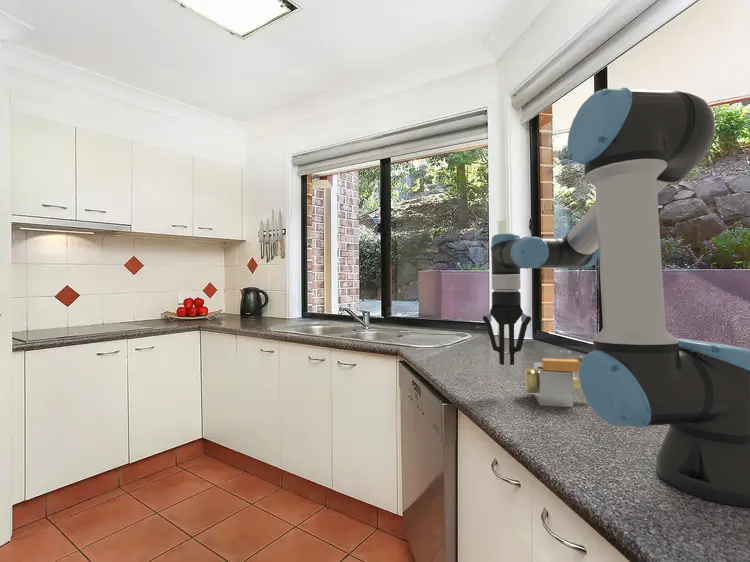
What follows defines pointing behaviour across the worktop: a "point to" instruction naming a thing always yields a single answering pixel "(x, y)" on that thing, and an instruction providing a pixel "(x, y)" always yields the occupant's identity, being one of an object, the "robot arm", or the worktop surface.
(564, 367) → the bar
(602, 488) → the worktop surface
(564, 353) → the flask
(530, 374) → the pin
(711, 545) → the worktop surface
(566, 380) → the block
